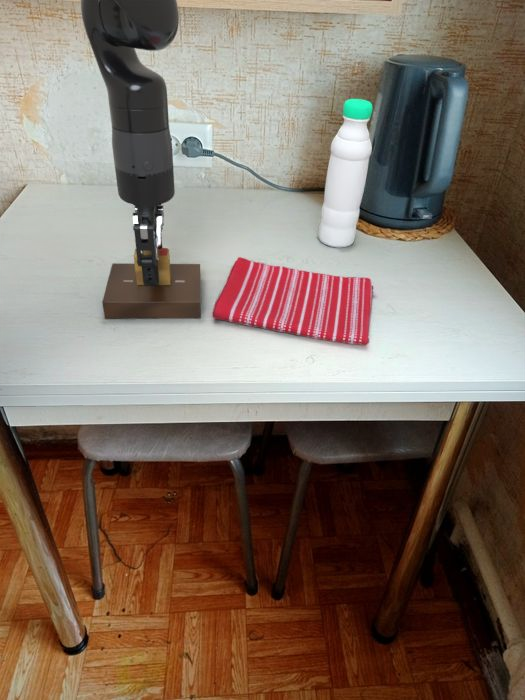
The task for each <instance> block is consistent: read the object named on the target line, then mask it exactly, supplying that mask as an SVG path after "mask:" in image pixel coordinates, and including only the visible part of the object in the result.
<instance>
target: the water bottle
mask: <svg viewBox="0 0 525 700" xmlns="http://www.w3.org/2000/svg"><path fill="white" fill-rule="evenodd" d="M343 103H344V104H343V108H342V118H343V122H342V123H343V124H342V125H341V126H340V128H339V129H338V130H337V133H336V134H335V136H334V137H333V139H332V141H331V143H330V156H329V160H328V166H327V170H326V176H325V177H326V178H325V184H324V185H325V186H324V195H323V203H322V206H321V212H320V222H319V227H318V231H317V232H318V233H317V238H318V239H319V241H320V242H321V243H322V244H324V245H326V246H328V247H332V248H338V249H339V248H346V247H349V246H351V245H352V244H353V243H354V241H355V238H356V233H357V225H358V221H359V217H360V211H361V210H360V206H361V203H362V201H363V195H364V191H365V187H366V180H367V175H368V171H369V170H368V169H369V162H370V161H369V160H370V157H371V155H372V151H373V144H372V140H371V138H370V131H369V128H368V122H369V121H370V119H371V117H372V114H373V103H372V102H370V101H369V100H366V99H362V98H349V99H347V100H345V101H344V102H343Z"/></svg>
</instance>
